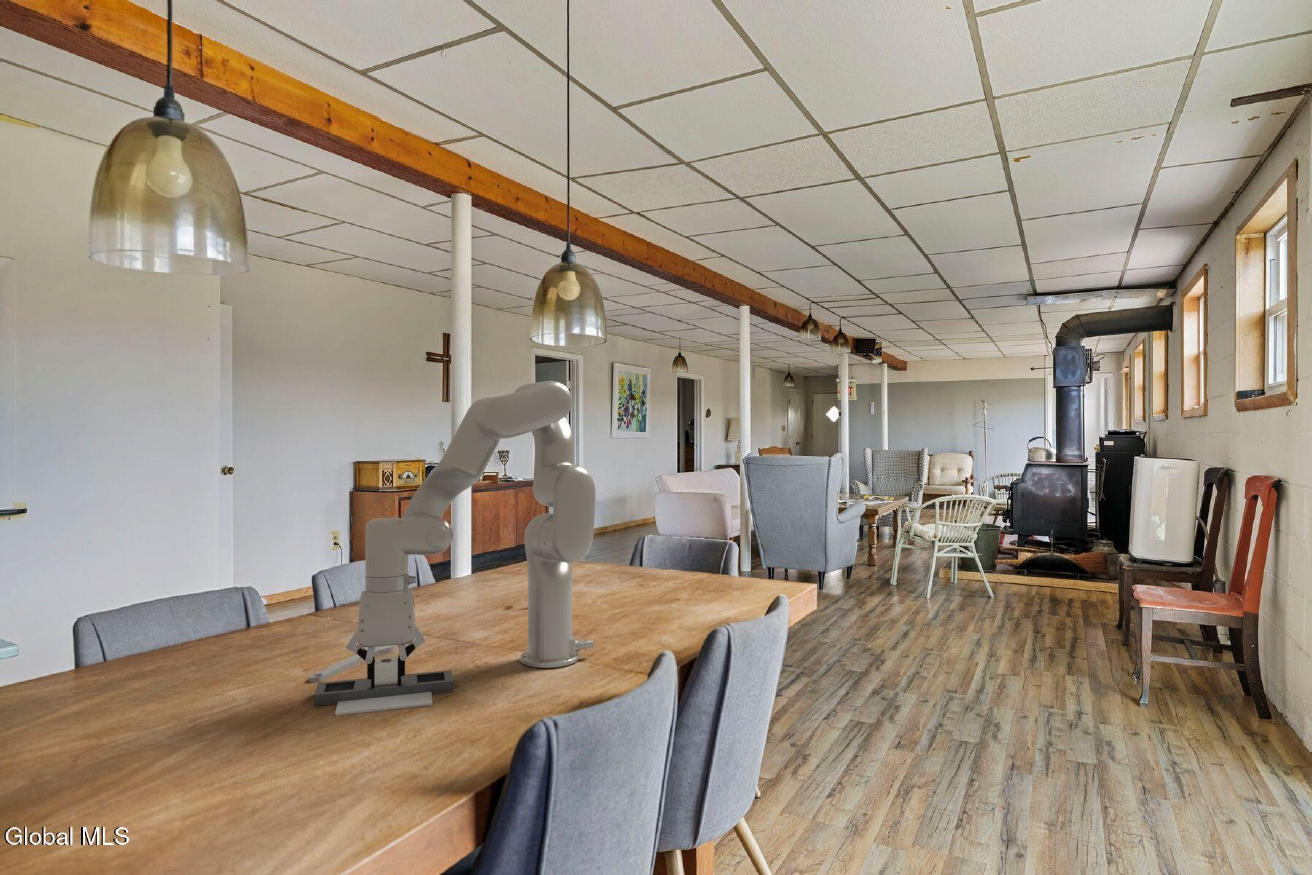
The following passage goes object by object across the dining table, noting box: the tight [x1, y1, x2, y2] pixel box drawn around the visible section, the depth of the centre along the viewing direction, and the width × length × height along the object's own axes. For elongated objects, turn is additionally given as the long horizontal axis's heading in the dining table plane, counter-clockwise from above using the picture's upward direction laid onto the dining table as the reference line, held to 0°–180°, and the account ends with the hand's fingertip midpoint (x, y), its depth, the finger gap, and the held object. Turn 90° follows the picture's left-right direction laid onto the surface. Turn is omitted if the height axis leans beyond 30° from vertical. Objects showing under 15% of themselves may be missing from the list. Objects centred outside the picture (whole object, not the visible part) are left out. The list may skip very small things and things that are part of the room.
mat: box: [334, 692, 433, 717], centre depth 129 cm, size 16×6×1 cm, turn 109°
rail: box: [313, 669, 454, 707], centre depth 136 cm, size 24×7×2 cm, turn 109°
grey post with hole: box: [374, 656, 398, 687], centre depth 136 cm, size 4×4×6 cm
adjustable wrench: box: [308, 645, 396, 684], centre depth 154 cm, size 25×6×2 cm, turn 162°
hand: (386, 680), depth 136 cm, fingers closed on grey post with hole, 3 cm apart
